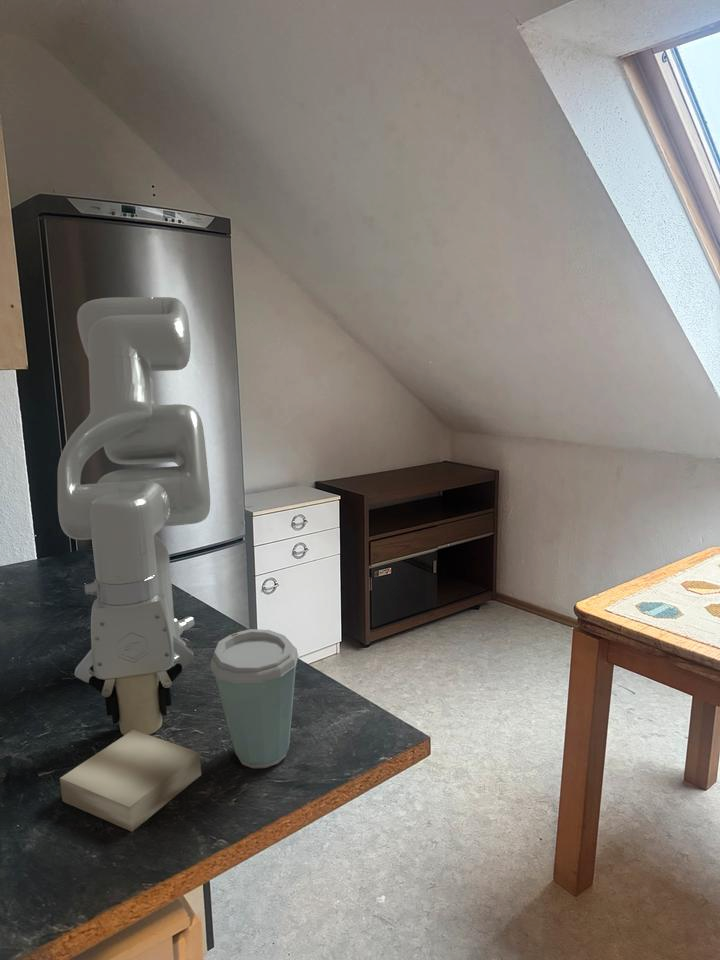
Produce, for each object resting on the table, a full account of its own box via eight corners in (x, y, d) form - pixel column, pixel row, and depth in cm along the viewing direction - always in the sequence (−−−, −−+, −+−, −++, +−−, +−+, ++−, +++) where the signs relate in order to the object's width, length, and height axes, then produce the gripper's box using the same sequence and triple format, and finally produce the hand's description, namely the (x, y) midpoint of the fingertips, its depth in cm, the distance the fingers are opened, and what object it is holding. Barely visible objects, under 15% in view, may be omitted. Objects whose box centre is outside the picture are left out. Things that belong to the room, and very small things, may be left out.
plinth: (135, 750, 89) (133, 729, 88) (201, 774, 84) (199, 752, 83) (62, 801, 79) (59, 778, 79) (132, 831, 74) (129, 807, 74)
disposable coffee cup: (320, 754, 87) (316, 643, 84) (249, 793, 80) (241, 674, 77) (270, 722, 95) (264, 619, 92) (201, 755, 88) (192, 645, 85)
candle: (147, 711, 98) (141, 646, 96) (170, 724, 95) (164, 656, 93) (112, 729, 94) (104, 660, 92) (135, 743, 91) (128, 672, 89)
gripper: (53, 607, 84) (69, 741, 88) (197, 589, 89) (207, 717, 93) (60, 586, 92) (75, 711, 95) (194, 571, 96) (203, 691, 100)
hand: (140, 713), depth 94 cm, fingers closed on candle, 5 cm apart
